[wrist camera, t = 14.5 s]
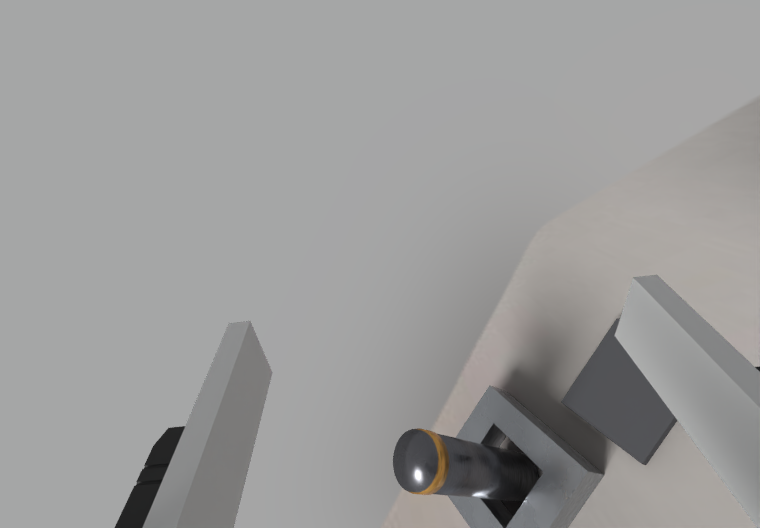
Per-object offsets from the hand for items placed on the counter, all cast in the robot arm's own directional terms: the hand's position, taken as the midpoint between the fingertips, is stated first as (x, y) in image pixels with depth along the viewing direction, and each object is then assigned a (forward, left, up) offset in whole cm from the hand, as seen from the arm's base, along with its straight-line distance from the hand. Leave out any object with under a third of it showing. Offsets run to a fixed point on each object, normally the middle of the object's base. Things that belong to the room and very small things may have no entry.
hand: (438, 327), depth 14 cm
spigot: (+12, -9, -31) cm, 35 cm away
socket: (+12, -9, -31) cm, 35 cm away
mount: (-2, -5, -31) cm, 32 cm away
